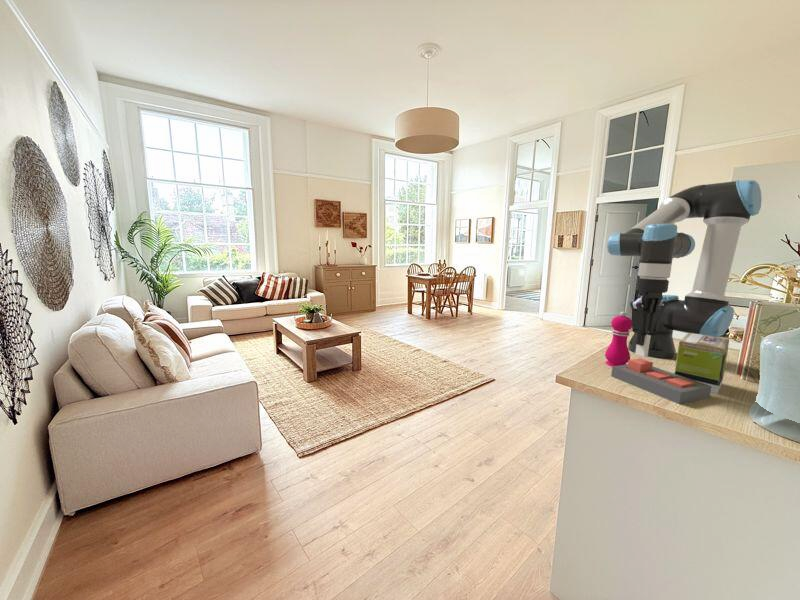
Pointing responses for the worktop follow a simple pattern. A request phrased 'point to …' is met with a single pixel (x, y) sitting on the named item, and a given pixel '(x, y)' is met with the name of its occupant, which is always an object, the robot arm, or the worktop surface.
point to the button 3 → (680, 382)
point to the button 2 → (659, 375)
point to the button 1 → (640, 365)
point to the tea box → (702, 359)
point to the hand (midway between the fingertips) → (641, 355)
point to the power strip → (662, 385)
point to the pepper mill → (619, 341)
